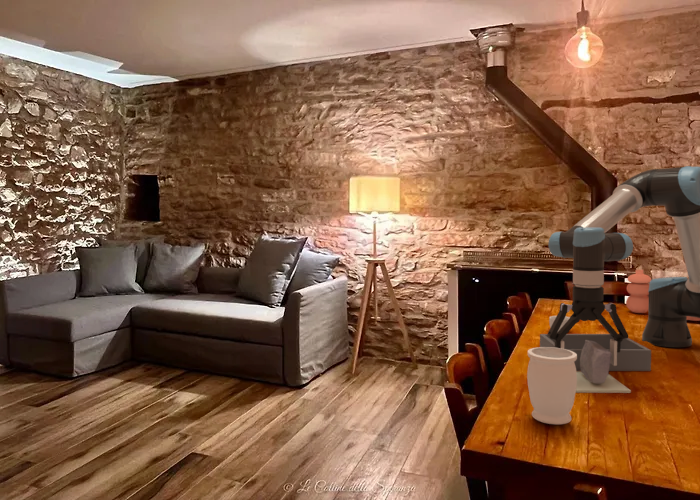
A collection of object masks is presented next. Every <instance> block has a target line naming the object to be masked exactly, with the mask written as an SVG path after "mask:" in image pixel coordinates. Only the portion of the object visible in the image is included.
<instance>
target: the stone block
mask: <svg viewBox="0 0 700 500" xmlns="http://www.w3.org/2000/svg"><path fill="white" fill-rule="evenodd" d="M611 355H612V354H611V352H610V351H608V350H607V349H605V348H604V347H602V346H601V345H599V344H598V343H597V342H594V341H590V340H585V345H584V347H583V350H582V352H581V357H580V363H581V364H580V367H581V371H580V372H582V373H583V374H584V376H585V377H586V378H587V379H588V380H589V381H590V382H592V383H596V384H601V383H604V382H605V380H606V378H607V375H608V374H609V372H610V371H609V366H610V362H611Z"/></svg>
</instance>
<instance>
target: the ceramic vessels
mask: <svg viewBox="0 0 700 500" xmlns="http://www.w3.org/2000/svg"><path fill="white" fill-rule="evenodd" d="M651 280H652V277H650V275H648V274H645V273H644V269H635V273H632V274H630V275H629V276H628V277H627V281H628V282H629V283H628V284H627V285H626V291H627V293H628V294H629V296H628V297H627V299H626V301H625V302H626V304H625V305H626V308H628V310H629V311H631V312H632V313H636V314H644V313H647V312H648V307H649V292H648V291H649V283H650V281H651ZM686 321H694V322H695V321H696V322H697V321H698V322H700V318H697V317H690V316H687V318H686Z"/></svg>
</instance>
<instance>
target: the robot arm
mask: <svg viewBox="0 0 700 500" xmlns="http://www.w3.org/2000/svg"><path fill="white" fill-rule="evenodd" d="M652 206H653V207H654V206H655V207H656V206H657V207H659V206H661V207H662V206H663V207H664V208H665V212H666V215H667V216H669V217H670V218H672V219H673V222H674V225H675V229H676V234H677V236H678V240H679V244H680V248H681V252H682V256H683V260H684V265H685V268H686V271H687V275H688V277H687V276H667V277H656V278H651V281H650V282H649V283H648V284H649V291H648V292H649V295H648V297H649V307H648V311H647V312H648V317H647V321H646V324H645V327H644V329H643V331H642V335H641V336H642V337H641V340H642V341H643V342H647V343H649V344H651V345H653V346H657V347H667V348H687V347H691V346H692V345H693V344H692V343H693V338H692V335H691V332H690V329H689V326H688V323H687V320H686V318H687V316H690V317H697V318H700V166H691V165H686V166H682V167H668V168H654V169H653V168H651V169H648V170H644V171H642V172H639V173H637V174H635V175H633V176H631V177H630V178H627V180H624V181H623V182H622V183H620V184H619V185H618V186H617V187H615V188H614V190H613V191H612V195H610V196H609V197H608V198H606V199H605V200H604V201H603V202H602V203H600V204H599V205H598V206H596V207H595V208H594V209H593V210H592V211H590V212H589V213H587V214H586V215H585V216H584V217H582V219H580V220H579V221H577V223H575V224H574V225H573V226H572V227H571V228H569V229H568V230H566V231H555V232H553V233H551V235H550V237H549V239H548V250H549V252H550V253H551V255H552V256H555V257H559V258H564V259H567V258H568V259H573V262H572V263H573V266H572V284H573V285H574V286H572V303H571V304H566V303H563V302H561V303H560V304H559V311H558V313H557V315H556V316H557V317H556V319H555V320H554V322H553V324H552V326H551V328H549V330H548V332H547V333H546V334H547V335H548V337H550V338H551V339H554V340H555V348H562V349H564V341H563V340H562V339H563V338H564V336H565V335H566V334H569V332H570V331H571V330H572V329H573V327H574V326H576V324H578V323H579V322H580V321H582V322H588V321H591V322H595V321H596V320H597V321H598V322H599V324H601V325H602V327H604V328H603V329H605V330H606V331H607V333H608V334H610V335H611V336H612V337H613V338H614V339H610V352H611V354H612V355H611V362H610V363H611V364H612V365H614V366H617V352H620V348H621V341H622V340H623V339H625V338H626V339H627V338H629V334H628V332H627V329H626V328H625V326H624V324H623V322H622V320H621V318H620V316H619V314H618V312H617V311H618V310H617V305H616V304H615V303H613V302H608V303H607V304H605V303H604V298H605V297H604V293H605V292H604V291H605V288H604V287H603V286H604V284H605V277H604V276H605V271H604V269H605V267H604V266H605V262H614V261H617V262H619V261H622V260H626V259H627V258H628V257H630V256H631V255H632V253H633V250H634V243H633V240H632V238H631V237H630V236H629V235H628V234H625V233H622V232H608V231H609V230H611V228H614V226H615V225H617V224H618V223H619V222H620V221H622V220H623V219H624V218H625V217H626V216H627V215H629V214H630V213H634V212H637V211H638V210H640V209H641V208H644V207H652ZM607 232H608V233H607ZM605 310H606V312H608V313H609V316H610V318H611V319H612V322H613V324H614V326H615V328H616V330H617V331H616V330H615V329H614V328H613V326H612V325H611V324H610V323H609V322H608V321H607V320H606V318H605V317H604V315H602V314H603V313H604V311H605ZM570 311H572V312H573V313H572V314H571V315H570V316H569V317H570V319H569V320H568V321H567V322H566V323H565V324H564V325H563V327H562V328H561V329H560V330H559V328H560V326H561V324H562V322H563V320H564V318H565V316H566V317H567V314H568V313H569V312H570ZM558 330H559V331H558Z"/></svg>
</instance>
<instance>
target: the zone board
mask: <svg viewBox="0 0 700 500" xmlns="http://www.w3.org/2000/svg"><path fill="white" fill-rule="evenodd" d="M576 373H577V387H576V393H577V394H580V393H581V394H582V393H583V394H586V393H589V394H590V393H591V394H595V393H596V394H598V393H599V394H605V393H606V394H613V393H614V394H615V393H616V394H618V393H619V394H620V393H621V394H622V393H623V394H627V393H628V394H630V393H632V390H631V389H629V388H628V387H627V386H626V385H624V384H623V383H621V382H620V381H619V380H618V379H616V378H615V377H614V376H612V375H611V374H609V373H608V375H607V378H606V380H605V382H604V383H601V384H596V383H592V382H590V381H589V380H588V379H587V378H586V377H585V376H584V374H583V373H582V372H581V371H576ZM576 393H575V394H576Z"/></svg>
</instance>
